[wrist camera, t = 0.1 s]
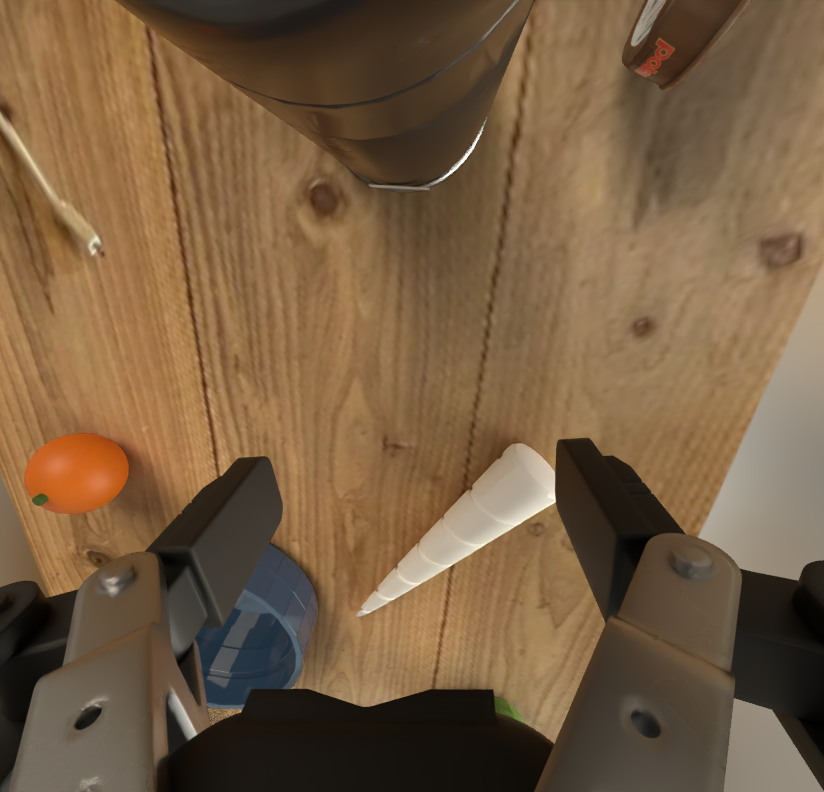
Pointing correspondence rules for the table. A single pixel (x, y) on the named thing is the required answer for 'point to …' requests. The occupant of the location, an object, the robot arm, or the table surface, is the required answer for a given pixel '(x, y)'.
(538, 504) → the unicorn horn
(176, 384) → the table surface
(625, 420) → the table surface
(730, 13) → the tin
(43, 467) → the mandarin
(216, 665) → the bowl
